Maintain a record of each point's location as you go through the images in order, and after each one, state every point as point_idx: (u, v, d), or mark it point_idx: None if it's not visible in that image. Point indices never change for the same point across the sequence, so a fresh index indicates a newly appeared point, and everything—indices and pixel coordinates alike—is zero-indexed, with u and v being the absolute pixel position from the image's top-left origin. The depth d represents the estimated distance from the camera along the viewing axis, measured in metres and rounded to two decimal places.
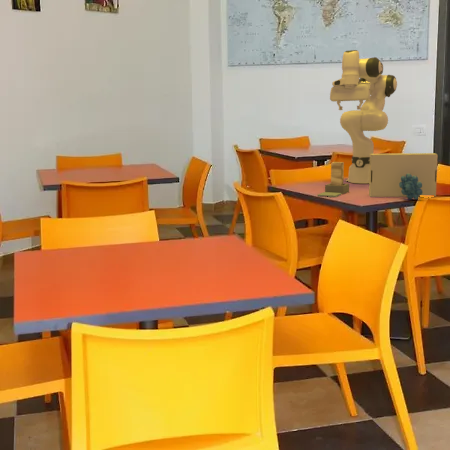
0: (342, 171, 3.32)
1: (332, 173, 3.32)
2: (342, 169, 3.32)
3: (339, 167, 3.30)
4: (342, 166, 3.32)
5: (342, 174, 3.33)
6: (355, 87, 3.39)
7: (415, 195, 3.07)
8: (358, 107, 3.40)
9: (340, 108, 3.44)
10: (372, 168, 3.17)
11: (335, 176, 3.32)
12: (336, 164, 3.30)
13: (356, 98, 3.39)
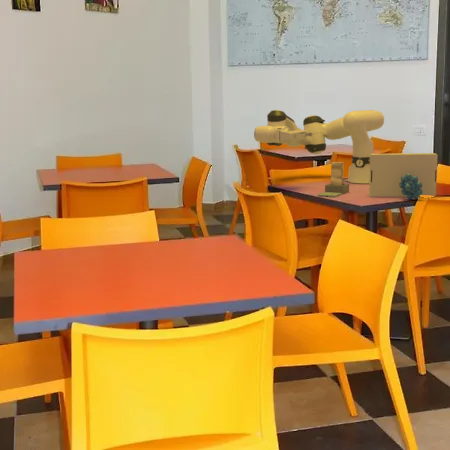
0: (342, 171, 3.32)
1: (332, 173, 3.32)
2: (342, 169, 3.32)
3: (339, 167, 3.30)
4: (342, 166, 3.32)
5: (342, 174, 3.33)
6: (291, 130, 3.45)
7: (415, 195, 3.07)
8: (310, 132, 3.41)
9: (303, 134, 3.33)
10: (372, 168, 3.17)
11: (335, 176, 3.32)
12: (336, 164, 3.30)
13: (301, 131, 3.43)
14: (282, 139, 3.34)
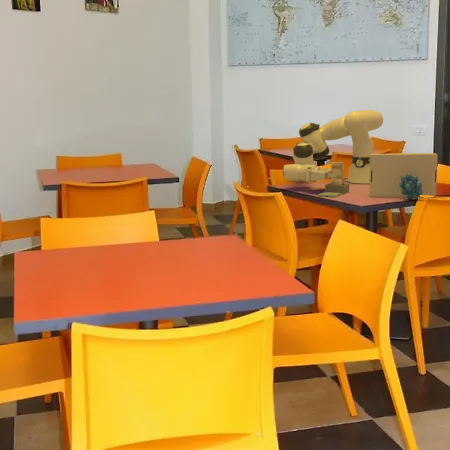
0: (342, 171, 3.32)
1: None
2: (342, 169, 3.32)
3: (339, 167, 3.30)
4: (342, 166, 3.32)
5: (342, 174, 3.33)
6: (320, 169, 3.40)
7: (415, 195, 3.07)
8: None
9: (335, 173, 3.31)
10: (372, 168, 3.17)
11: None
12: (336, 164, 3.30)
13: None
14: (313, 179, 3.30)
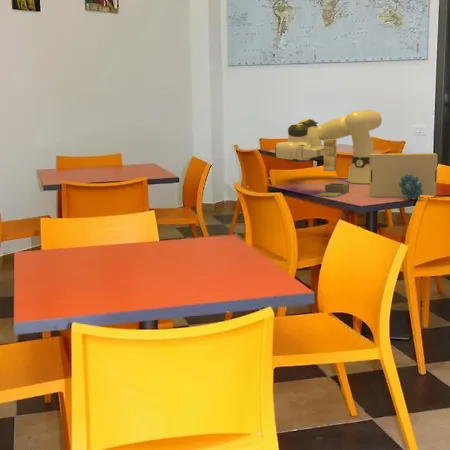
0: (335, 149, 3.25)
1: None
2: (335, 147, 3.25)
3: (332, 144, 3.23)
4: (335, 144, 3.25)
5: (335, 152, 3.26)
6: (313, 147, 3.34)
7: (415, 195, 3.07)
8: None
9: None
10: (372, 168, 3.17)
11: None
12: (329, 141, 3.24)
13: None
14: (305, 156, 3.23)
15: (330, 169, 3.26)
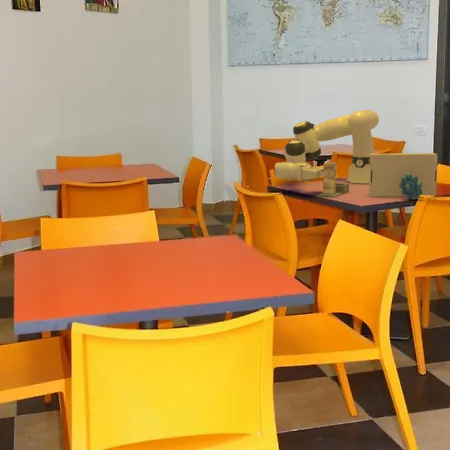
0: (335, 172, 3.23)
1: None
2: (335, 170, 3.23)
3: (332, 167, 3.21)
4: (335, 167, 3.23)
5: (335, 175, 3.23)
6: (313, 167, 3.31)
7: (415, 195, 3.07)
8: None
9: (327, 172, 3.20)
10: (372, 168, 3.17)
11: (327, 176, 3.23)
12: (329, 164, 3.21)
13: None
14: (304, 177, 3.20)
15: (330, 192, 3.24)
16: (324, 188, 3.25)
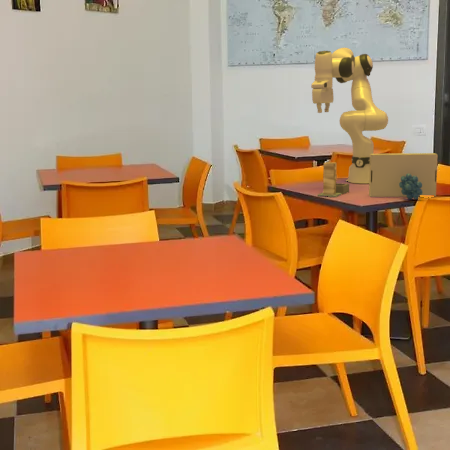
0: (335, 172, 3.23)
1: (324, 174, 3.23)
2: (335, 170, 3.23)
3: (332, 167, 3.21)
4: (335, 167, 3.23)
5: (335, 175, 3.23)
6: None
7: (415, 195, 3.07)
8: (328, 110, 3.41)
9: (321, 111, 3.33)
10: (372, 168, 3.17)
11: (327, 176, 3.23)
12: (328, 165, 3.21)
13: (329, 101, 3.39)
14: (313, 92, 3.28)
15: (330, 192, 3.24)
16: (324, 188, 3.25)
